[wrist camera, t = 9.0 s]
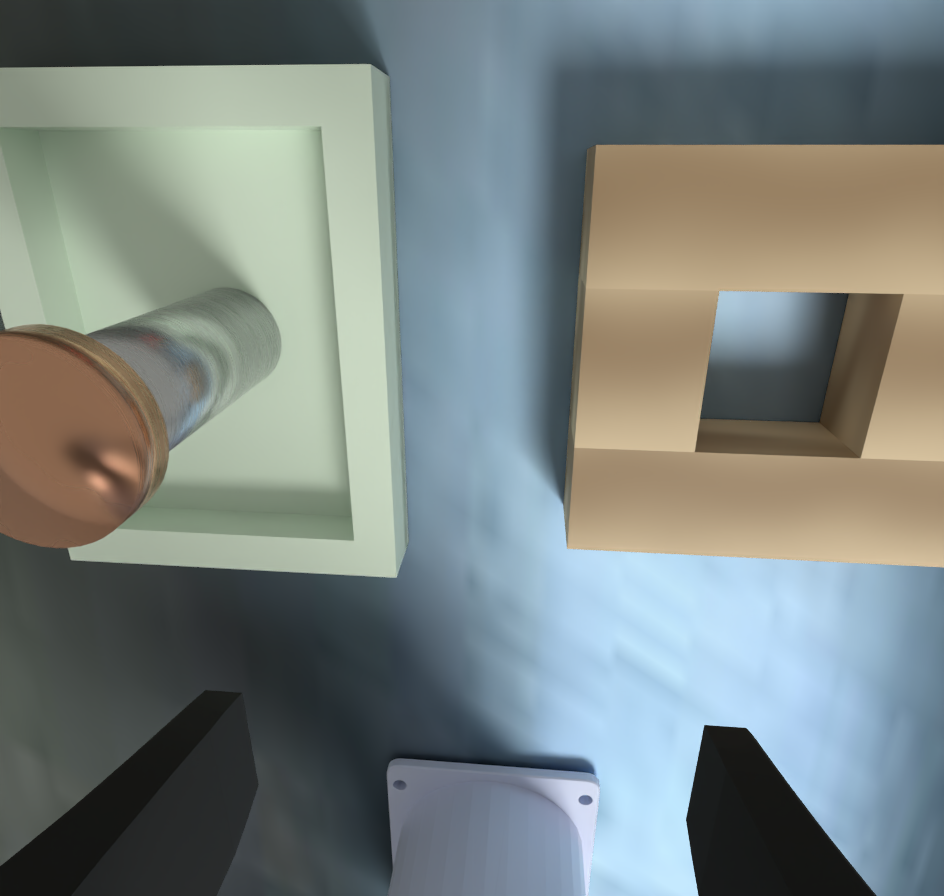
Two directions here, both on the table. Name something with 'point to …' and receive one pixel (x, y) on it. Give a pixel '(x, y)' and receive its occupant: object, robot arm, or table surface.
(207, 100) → the tray
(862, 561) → the socket block
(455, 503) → the table surface
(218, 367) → the pin
